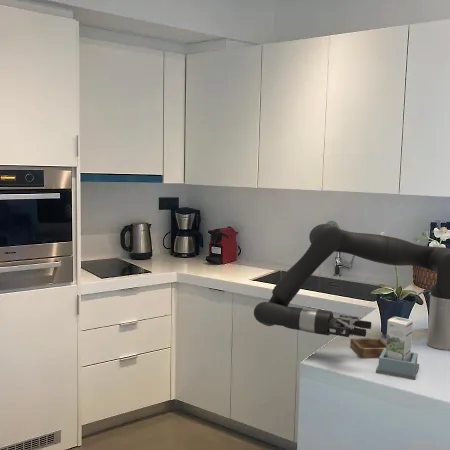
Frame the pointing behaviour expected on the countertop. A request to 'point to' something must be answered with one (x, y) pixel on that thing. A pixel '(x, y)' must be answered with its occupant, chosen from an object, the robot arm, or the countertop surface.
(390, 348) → the syrup box
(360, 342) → the shallow wooden tray
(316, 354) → the countertop surface
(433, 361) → the countertop surface
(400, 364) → the socket
